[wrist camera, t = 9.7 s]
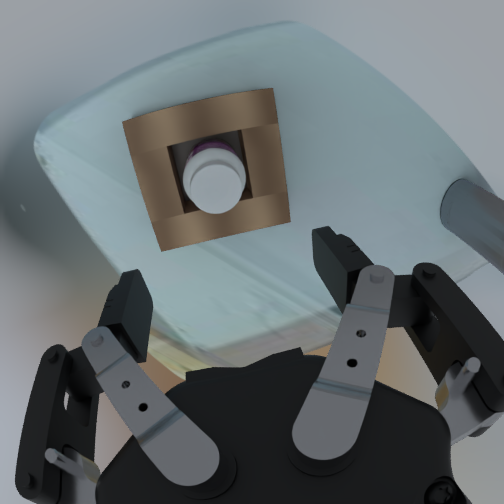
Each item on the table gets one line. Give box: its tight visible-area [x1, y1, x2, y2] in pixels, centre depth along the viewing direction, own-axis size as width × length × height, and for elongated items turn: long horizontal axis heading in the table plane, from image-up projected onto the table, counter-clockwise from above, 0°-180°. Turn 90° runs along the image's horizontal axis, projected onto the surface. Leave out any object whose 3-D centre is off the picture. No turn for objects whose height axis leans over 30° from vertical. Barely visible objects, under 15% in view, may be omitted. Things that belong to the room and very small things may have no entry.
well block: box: [122, 88, 291, 252], centre depth 28 cm, size 14×14×4 cm
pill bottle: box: [183, 139, 246, 214], centre depth 25 cm, size 5×5×10 cm
